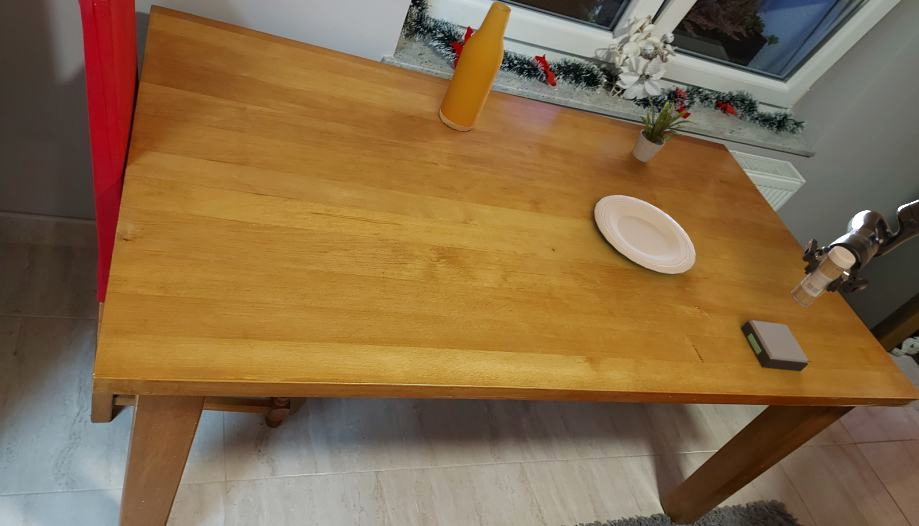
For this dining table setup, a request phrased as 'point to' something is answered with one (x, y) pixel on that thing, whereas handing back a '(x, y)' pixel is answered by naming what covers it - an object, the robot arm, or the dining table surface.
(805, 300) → the sprinkles bottle
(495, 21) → the beer bottle
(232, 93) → the dining table surface
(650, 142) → the house plant
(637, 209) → the plate
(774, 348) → the scale
